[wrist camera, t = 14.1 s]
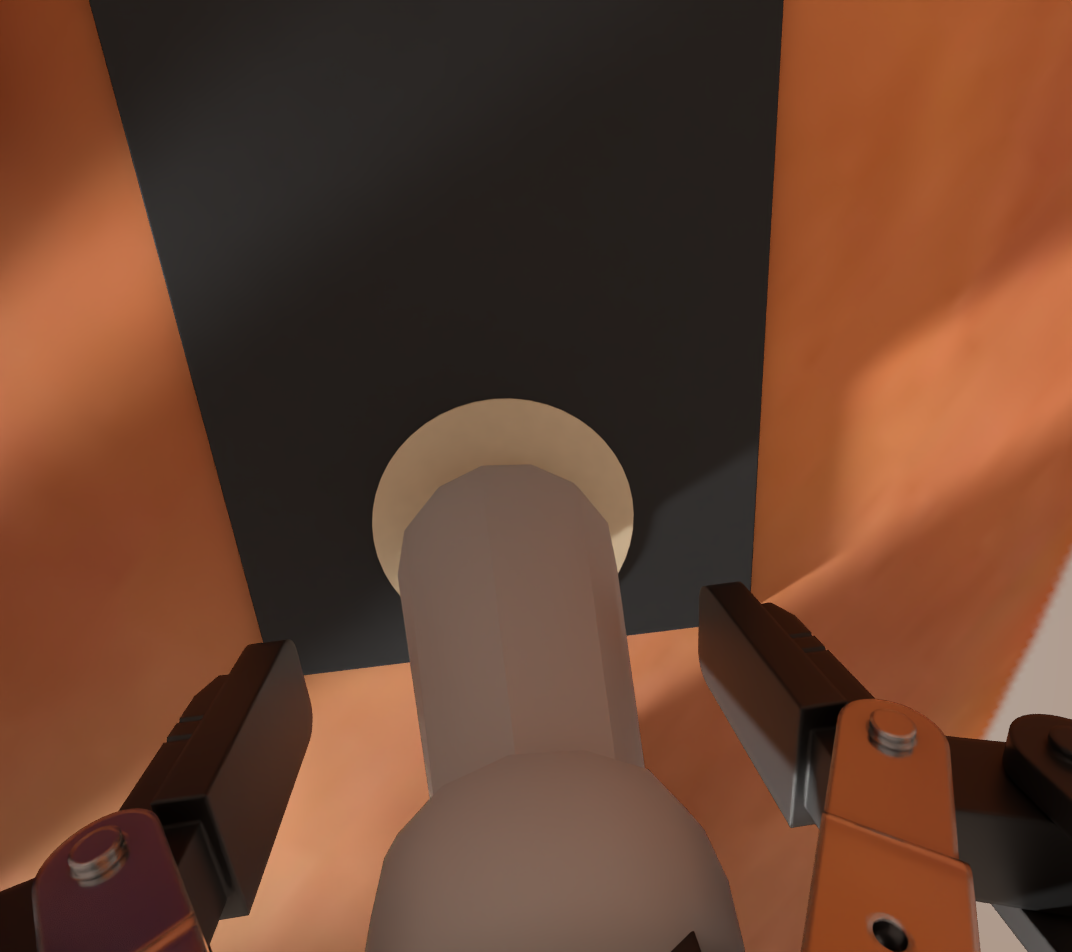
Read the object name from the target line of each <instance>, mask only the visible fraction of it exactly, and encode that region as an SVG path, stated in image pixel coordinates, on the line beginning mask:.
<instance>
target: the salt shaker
mask: <svg viewBox="0 0 1072 952" xmlns="http://www.w3.org/2000/svg"><path fill="white" fill-rule="evenodd" d="M398 582H399V589H400V596H401V603H402V610H403V617H404V624H405V631H406V638H407V644H408V651H409V658H410V665H411V672H412V679H413V686H414V693H415V700H416V707H417V714H418V720H419V727H420V734H421V741H422V748H423V755H424V762H425V769H426V776H427V783H428V790H429V797H430V799H429V800H428V802H427V803H426V804H425V805H424V806H423V807H422V808H421V809H420V810H419V811H418V812H417V813H416V815H415V816H414V817H413V818H412V819H411V820H410V821H409V822H408V823H407V824H406V825H405V826H404V828H403V829H402V830H401V831H400V832H399V833H398V834H397V836H396V838H395V839H394V841H393V843H392V845H391V847H390V848H389V850H388V852H387V854H386V856H385V858H384V861H383V866H382V870H381V875H380V879H379V883H378V888H377V892H376V897H375V901H374V906H373V910H372V914H371V920H370V925H369V931H368V936H367V942H366V948H365V952H671V951H672V950H673V949H674V948H675V947H676V946H677V945H678V944H679V943H680V942H681V941H682V940H683V939H684V938H685V937H686V936H687V935H688V934H689V933H690V932H691V931H694V932H695V935H696V938H697V941H698V943H699V946H700V949H701V952H745V948H744V944H743V940H742V936H741V932H740V927H739V923H738V919H737V915H736V911H735V907H734V903H733V898H732V894H731V890H730V886H729V882H728V879H727V877H726V875H725V873H724V871H723V868H722V866H721V864H720V862H719V860H718V858H717V856H716V854H715V851H714V849H713V847H712V845H711V843H710V841H709V839H708V837H707V835H706V832H705V830H704V829H703V828H702V826H701V825H700V824H699V823H698V822H697V821H696V819H695V818H694V817H693V816H692V815H691V814H690V812H689V811H688V810H687V809H686V808H685V807H684V806H683V805H682V804H681V803H680V802H679V801H678V800H677V799H676V798H675V797H674V796H673V794H672V793H671V792H670V791H669V790H668V789H667V788H666V787H665V786H664V785H663V784H662V783H661V782H660V781H659V780H658V779H657V778H656V777H655V776H654V775H653V774H652V773H651V772H650V771H649V770H648V769H645V766H644V759H643V751H642V744H641V737H640V730H639V723H638V715H637V708H636V701H635V694H634V687H633V679H632V672H631V665H630V658H629V651H628V643H627V636H626V629H625V622H624V614H623V607H622V600H621V593H620V586H619V578H618V571H617V565H616V560H615V555H614V550H613V545H612V540H611V536H610V531H609V526H608V522H607V521H606V520H605V519H604V518H603V516H602V515H601V514H600V513H599V512H598V510H597V509H596V508H595V507H594V506H593V504H592V503H591V502H590V501H589V500H588V498H587V497H586V496H585V495H584V494H583V492H582V491H581V490H580V489H579V488H578V487H577V486H576V485H575V484H574V483H573V482H571V481H568V480H566V479H564V478H561V477H559V476H557V475H554V474H552V473H550V472H547V471H545V470H543V469H540V468H538V467H536V466H534V465H531V464H524V465H486V466H480V467H478V468H476V469H474V470H472V471H470V472H468V473H466V474H464V475H462V476H460V477H458V478H456V479H454V480H452V481H450V482H448V483H446V484H444V485H442V486H440V487H439V488H438V489H437V490H436V491H435V493H434V494H433V495H432V496H431V498H430V499H429V500H428V501H427V503H426V504H425V505H424V506H423V508H422V509H421V510H420V511H419V513H418V514H417V515H416V516H415V518H414V519H413V520H412V521H411V523H410V524H409V525H408V527H407V528H406V529H405V531H404V536H403V543H402V549H401V556H400V562H399V569H398Z"/></svg>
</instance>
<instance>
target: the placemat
mask: <svg viewBox="0 0 1072 952" xmlns="http://www.w3.org/2000/svg"><path fill="white" fill-rule="evenodd" d="M783 1H784V0H89V2H90V6H91V10H92V13H93V17H94V21H95V24H96V28H97V32H98V35H99V39H100V43H101V46H102V50H103V54H104V57H105V61H106V65H107V68H108V72H109V76H110V80H111V83H112V87H113V91H114V94H115V98H116V102H117V105H118V109H119V113H120V116H121V120H122V124H123V127H124V131H125V135H126V138H127V142H128V146H129V149H130V153H131V157H132V161H133V164H134V168H135V172H136V175H137V179H138V183H139V186H140V190H141V194H142V197H143V201H144V205H145V208H146V212H147V216H148V219H149V223H150V227H151V231H152V234H153V238H154V242H155V245H156V249H157V253H158V256H159V260H160V264H161V267H162V271H163V275H164V278H165V282H166V286H167V289H168V293H169V297H170V300H171V304H172V308H173V312H174V315H175V319H176V323H177V326H178V330H179V334H180V337H181V341H182V345H183V348H184V352H185V356H186V359H187V363H188V367H189V370H190V374H191V378H192V381H193V385H194V389H195V393H196V396H197V400H198V404H199V407H200V411H201V415H202V418H203V422H204V426H205V429H206V433H207V437H208V440H209V444H210V448H211V451H212V455H213V459H214V463H215V466H216V470H217V474H218V477H219V481H220V485H221V488H222V492H223V496H224V499H225V503H226V507H227V510H228V514H229V518H230V521H231V525H232V529H233V532H234V536H235V540H236V544H237V547H238V551H239V555H240V558H241V562H242V566H243V569H244V573H245V577H246V580H247V584H248V588H249V591H250V595H251V599H252V602H253V606H254V610H255V613H256V617H257V621H258V625H259V628H260V632H261V636H262V639H263V643H265V642H272V641H280V640H287V639H290V640H292V641H293V642H294V644H295V646H296V649H297V652H298V656H299V660H300V664H301V668H302V671H303V675H310V674H318V673H326V672H334V671H342V670H350V669H359V668H367V667H375V666H383V665H391V664H399V663H407V662H410V658H409V651H408V644H407V638H406V631H405V624H404V617H403V610H402V603H401V596H400V589H399V582H398V569H399V562H400V556H401V549H402V543H403V536H404V531H405V529H406V528H407V527H408V525H409V524H410V523H411V521H412V520H413V519H414V518H415V516H416V515H417V514H418V513H419V511H420V510H421V509H422V508H423V506H424V505H425V504H426V503H427V501H428V500H429V499H430V498H431V496H432V495H433V494H434V493H435V491H436V490H437V489H438V488H439V487H440V486H442V485H444V484H446V483H448V482H450V481H452V480H454V479H456V478H458V477H460V476H462V475H464V474H466V473H468V472H470V471H472V470H474V469H476V468H478V467H480V466H486V465H524V464H531V465H534V466H536V467H538V468H540V469H543V470H545V471H547V472H550V473H552V474H554V475H557V476H559V477H561V478H564V479H566V480H568V481H571V482H573V483H574V484H575V485H576V486H577V487H578V488H579V489H580V490H581V491H582V492H583V494H584V495H585V496H586V497H587V498H588V500H589V501H590V502H591V503H592V504H593V506H594V507H595V508H596V509H597V510H598V512H599V513H600V514H601V515H602V516H603V518H604V519H605V520H606V521H607V522H608V526H609V531H610V536H611V540H612V545H613V550H614V555H615V560H616V565H617V571H618V578H619V586H620V593H621V600H622V607H623V614H624V622H625V629H626V636H627V635H636V634H644V633H652V632H660V631H668V630H676V629H684V628H693V627H699V593H700V589H701V587H702V586H707V585H714V584H722V583H730V582H737V581H739V582H741V583H743V584H744V585H745V586H746V588H747V589H748V590H749V591H750V592H751V577H752V559H753V541H754V523H755V505H756V487H757V469H758V451H759V433H760V415H761V397H762V379H763V361H764V343H765V325H766V307H767V289H768V271H769V253H770V235H771V217H772V199H773V181H774V163H775V145H776V127H777V109H778V91H779V73H780V55H781V37H782V19H783Z"/></svg>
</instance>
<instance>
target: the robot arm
mask: <svg viewBox="0 0 1072 952" xmlns="http://www.w3.org/2000/svg"><path fill="white" fill-rule="evenodd" d="M698 654H699V662H700V667H701V671H702V674H703V677H704V679H705V682H706V684H707V685H708V687H709V689H710V691H711V692H712V694H713V696H714V697H715V699H716V701H717V703H718V704H719V706H720V708H721V709H722V711H723V713H724V715H725V716H726V718H727V720H728V721H729V723H730V725H731V727H732V728H733V730H734V732H735V733H736V735H737V737H738V739H739V740H740V742H741V744H742V745H743V747H744V749H745V751H746V752H747V754H748V756H749V757H750V759H751V761H752V762H753V764H754V766H755V768H756V769H757V771H758V773H759V774H760V776H761V778H762V780H763V781H764V783H765V785H766V786H767V788H768V790H769V792H770V793H771V795H772V797H773V798H774V800H775V802H776V804H777V805H778V807H779V809H780V810H781V812H782V814H783V816H784V817H785V819H786V821H787V822H788V824H789V826H790V828H794V827H800V826H806V825H812V824H816V825H817V827H818V828H819V836H818V842H817V849H816V855H815V862H814V868H813V875H812V882H811V888H810V895H809V901H808V908H807V914H806V921H805V928H804V934H803V941H802V947H801V952H980V942H979V932H978V922H977V912H976V902H975V901H978V902H984V903H990V904H992V906H993V907H994V908H995V910H996V911H997V912H998V914H999V915H1000V916H1001V918H1002V919H1003V920H1004V921H1005V923H1006V924H1007V925H1008V927H1009V928H1010V929H1011V930H1012V932H1013V933H1014V934H1015V936H1016V937H1017V938H1018V940H1019V941H1020V942H1021V943H1022V945H1023V946H1024V947H1025V949H1026V950H1027V951H1028V952H1072V720H1071V719H1067V718H1063V717H1059V716H1054V715H1046V714H1030V715H1024V716H1021V717H1019V718H1017V719H1015V720H1014V721H1013V722H1012V724H1011V725H1010V728H1009V732H1008V736H1007V741H1006V742H998V741H988V740H979V739H969V738H959V737H951V736H945V735H944V733H943V732H942V731H941V730H940V729H939V727H938V726H937V725H936V724H934V723H933V722H932V721H931V720H929V719H928V718H927V717H925V716H924V715H922V714H921V713H919V712H917V711H915V710H913V709H911V708H909V707H906V706H904V705H901V704H898V703H895V702H891V701H886V700H880V699H875V698H874V697H873V696H872V695H871V694H870V693H869V692H868V691H867V690H866V689H865V688H864V687H863V686H862V685H861V684H860V682H859V681H858V680H857V679H856V678H855V677H854V676H853V675H852V674H851V673H850V672H849V671H848V670H847V669H846V668H845V667H844V666H843V665H842V664H841V663H840V662H839V661H838V660H837V659H836V658H835V657H834V656H833V655H832V653H831V652H830V651H829V650H825V646H824V645H823V644H822V643H821V642H820V641H819V640H818V639H817V638H816V637H815V636H812V635H811V632H810V631H809V630H808V629H807V628H806V627H805V626H804V624H803V623H802V622H801V621H800V620H799V619H798V618H797V617H796V616H795V615H793V614H791V613H789V612H787V611H786V610H784V609H782V608H780V607H778V606H776V605H775V604H773V603H764V604H761V603H760V602H759V601H758V600H757V599H756V598H755V596H754V595H753V594H752V593H751V592H750V591H749V590H748V589H747V588H746V586H745V585H744V584H743V583H741V582H739V581H737V582H730V583H722V584H714V585H707V586H702V587H701V589H700V593H699V638H698ZM311 732H312V707H311V702H310V698H309V694H308V691H307V687H306V683H305V679H304V675H303V671H302V668H301V664H300V660H299V656H298V652H297V649H296V646H295V644H294V642H293V641H292V640H290V639H287V640H280V641H272V642H265V643H257V644H250V645H248V646H246V648H245V649H244V650H243V652H242V654H241V655H240V657H239V659H238V660H237V662H236V663H235V665H234V667H233V668H232V670H231V672H230V673H229V674H228V675H220V676H218V677H217V678H215V679H214V680H213V681H212V682H211V683H210V684H208V685H207V686H206V687H205V688H204V689H202V690H201V691H200V692H199V693H198V694H197V695H195V696H194V698H193V699H192V701H191V702H190V704H189V705H188V707H187V708H186V710H185V711H184V713H183V714H182V716H181V717H180V722H179V723H177V724H176V725H175V726H174V728H173V729H172V731H171V732H170V734H169V735H168V737H167V742H166V743H163V745H162V746H161V748H160V749H159V751H158V752H157V754H156V755H155V757H154V758H153V760H152V761H151V763H150V764H149V766H148V767H147V769H146V770H145V772H144V773H143V775H142V776H141V778H140V779H139V781H138V782H137V784H136V785H135V787H134V788H133V790H132V791H131V793H130V794H129V796H128V797H127V799H126V800H125V802H124V804H123V805H122V807H121V808H120V810H119V811H118V812H115V813H112V814H109V815H107V816H104V817H102V818H100V819H98V820H96V821H94V822H92V823H90V824H88V825H87V826H85V827H83V828H82V829H80V830H79V831H77V832H76V833H75V834H73V835H72V836H70V837H69V838H68V839H67V840H66V841H64V842H63V843H62V844H61V845H60V846H59V847H58V848H57V849H56V850H55V851H54V852H53V853H52V854H51V855H50V856H49V857H48V858H47V860H46V861H45V862H44V863H43V865H42V866H41V868H40V869H39V871H38V873H37V875H36V877H35V878H33V879H31V880H28V881H26V882H23V883H21V884H18V885H16V886H13V887H11V888H8V889H6V890H3V891H1V892H0V952H213V951H212V949H211V947H210V942H211V939H212V937H213V934H214V932H215V929H216V927H217V924H218V921H219V920H222V919H228V918H235V917H241V916H247V915H249V913H250V910H251V907H252V904H253V902H254V899H255V896H256V893H257V890H258V887H259V884H260V882H261V879H262V876H263V873H264V870H265V867H266V864H267V861H268V859H269V856H270V853H271V850H272V847H273V844H274V841H275V838H276V836H277V833H278V830H279V827H280V824H281V821H282V818H283V815H284V813H285V810H286V807H287V804H288V801H289V798H290V795H291V792H292V790H293V787H294V784H295V781H296V778H297V775H298V772H299V770H300V767H301V764H302V761H303V758H304V755H305V752H306V749H307V747H308V744H309V741H310V737H311ZM671 952H701V949H700V946H699V943H698V941H697V938H696V935H695V932H694V931H691V932H690V933H689V934H688V935H687V936H686V937H685V938H684V939H683V940H682V941H681V942H680V943H679V944H678V945H677V946H676V947H675V948H674V949H673V950H672V951H671Z"/></svg>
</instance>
